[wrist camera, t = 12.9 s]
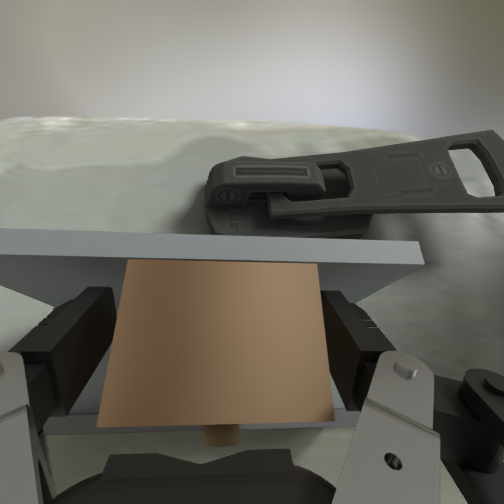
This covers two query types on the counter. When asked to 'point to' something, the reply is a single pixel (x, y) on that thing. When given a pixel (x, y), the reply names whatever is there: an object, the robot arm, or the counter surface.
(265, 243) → the board
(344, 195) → the zipper pull
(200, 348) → the cabinet
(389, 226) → the counter surface
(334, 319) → the robot arm
